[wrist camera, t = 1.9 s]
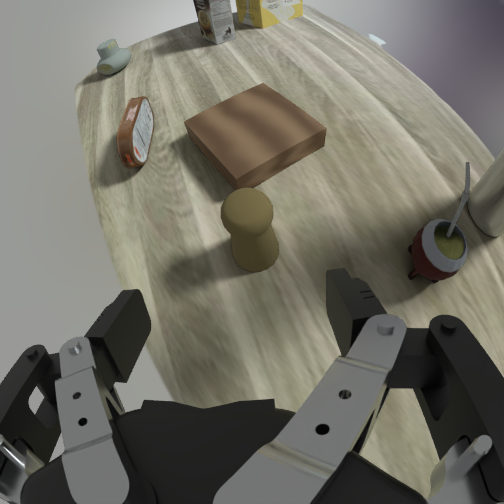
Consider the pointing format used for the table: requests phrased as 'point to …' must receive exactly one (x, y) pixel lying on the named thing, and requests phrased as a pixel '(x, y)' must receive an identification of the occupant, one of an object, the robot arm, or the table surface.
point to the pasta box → (267, 11)
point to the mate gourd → (440, 245)
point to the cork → (250, 229)
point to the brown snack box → (215, 20)
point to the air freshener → (112, 57)
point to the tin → (135, 132)
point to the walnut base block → (255, 135)
